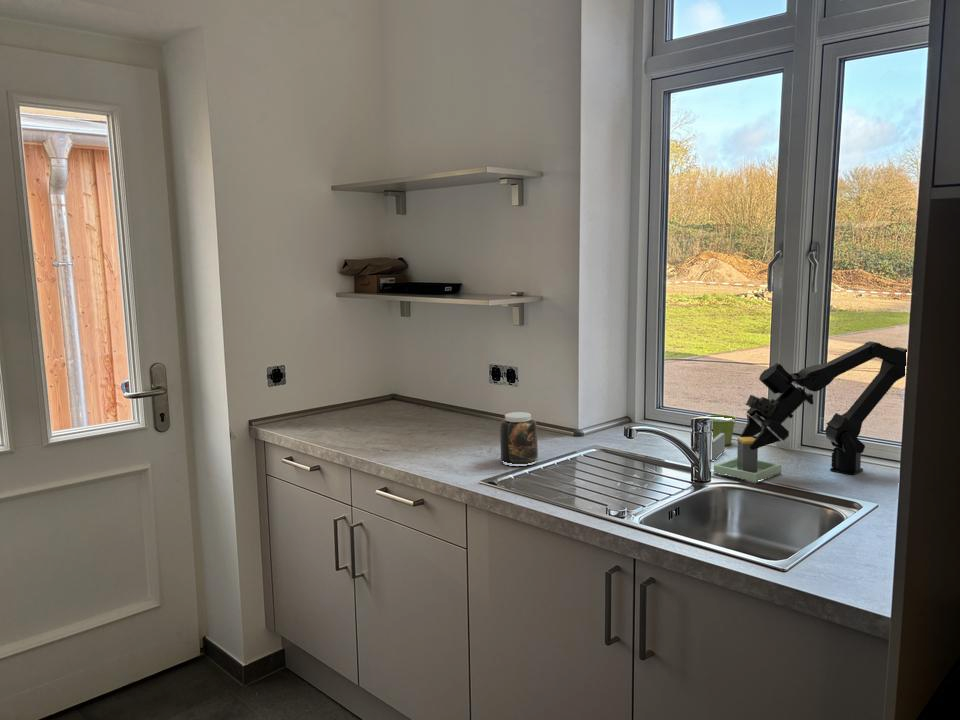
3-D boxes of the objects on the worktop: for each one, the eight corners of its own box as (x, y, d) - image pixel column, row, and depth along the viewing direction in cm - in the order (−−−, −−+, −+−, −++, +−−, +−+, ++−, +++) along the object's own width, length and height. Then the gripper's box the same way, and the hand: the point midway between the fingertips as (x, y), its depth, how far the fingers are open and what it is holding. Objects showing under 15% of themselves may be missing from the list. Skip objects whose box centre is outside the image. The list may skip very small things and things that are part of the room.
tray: (780, 473, 209) (781, 464, 209) (755, 483, 201) (755, 474, 201) (739, 464, 219) (739, 456, 219) (713, 473, 211) (713, 465, 211)
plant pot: (738, 447, 238) (738, 421, 237) (707, 447, 240) (707, 420, 239) (734, 440, 247) (734, 414, 246) (704, 440, 249) (705, 414, 248)
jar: (492, 463, 231) (491, 415, 229) (517, 455, 239) (515, 409, 237) (522, 469, 223) (520, 420, 221) (546, 460, 231) (544, 413, 229)
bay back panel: (724, 451, 233) (724, 433, 233) (713, 461, 223) (713, 441, 223) (720, 451, 234) (720, 432, 233) (709, 460, 224) (709, 441, 223)
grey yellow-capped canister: (751, 469, 212) (751, 436, 211) (757, 474, 207) (757, 441, 206) (737, 469, 212) (737, 437, 211) (742, 474, 208) (743, 441, 206)
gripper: (753, 379, 216) (715, 418, 218) (777, 391, 197) (735, 433, 199) (781, 405, 216) (742, 443, 218) (807, 419, 198) (764, 461, 200)
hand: (745, 444), depth 209 cm, fingers open, 9 cm apart
